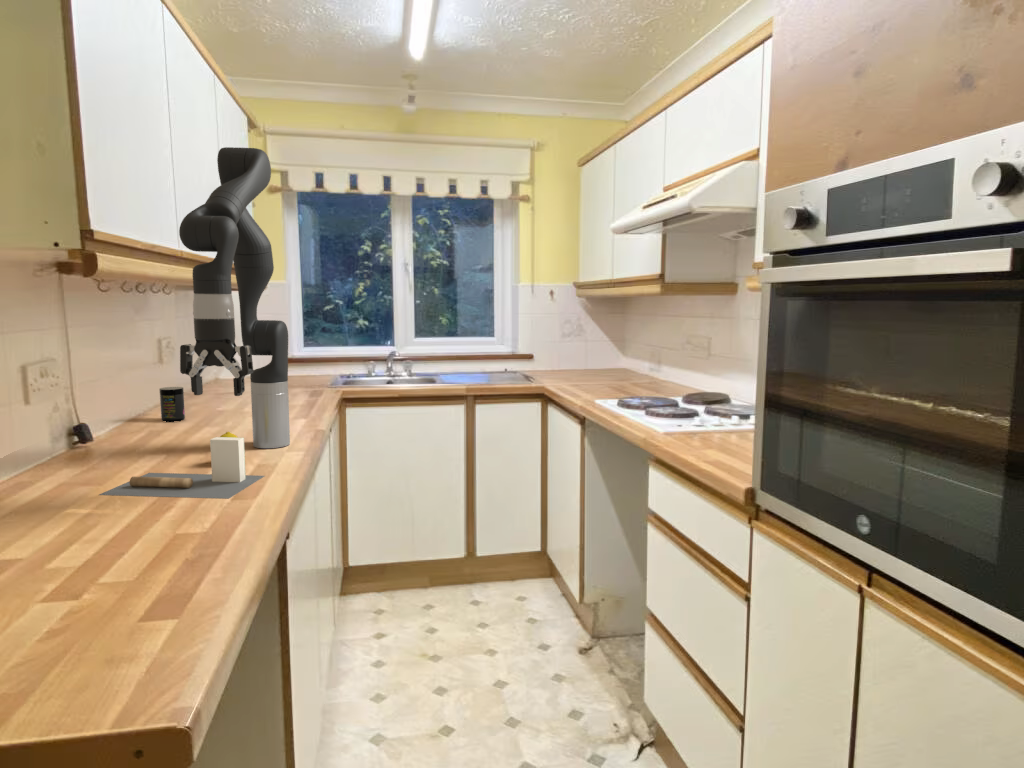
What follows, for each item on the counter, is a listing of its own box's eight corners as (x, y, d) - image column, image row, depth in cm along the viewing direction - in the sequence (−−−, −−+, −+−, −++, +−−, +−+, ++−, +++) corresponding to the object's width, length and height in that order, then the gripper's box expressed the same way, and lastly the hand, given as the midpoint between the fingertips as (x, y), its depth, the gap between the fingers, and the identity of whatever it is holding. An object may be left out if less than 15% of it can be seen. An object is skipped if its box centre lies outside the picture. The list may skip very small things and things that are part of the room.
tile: (218, 478, 135) (216, 437, 133) (245, 478, 134) (243, 437, 133) (212, 481, 132) (210, 439, 131) (240, 482, 132) (238, 440, 131)
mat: (149, 475, 138) (149, 472, 138) (265, 478, 137) (265, 475, 137) (98, 497, 122) (98, 494, 122) (228, 501, 121) (228, 498, 121)
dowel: (136, 484, 129) (135, 475, 129) (193, 486, 128) (192, 476, 128) (129, 487, 127) (129, 478, 127) (187, 489, 127) (187, 479, 126)
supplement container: (186, 421, 199) (184, 388, 197) (161, 423, 195) (159, 390, 194) (184, 418, 205) (182, 386, 203) (161, 419, 201) (158, 387, 200)
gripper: (256, 316, 131) (260, 393, 133) (190, 315, 132) (195, 391, 134) (239, 317, 124) (243, 398, 126) (169, 316, 124) (174, 397, 127)
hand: (218, 395), depth 130 cm, fingers open, 8 cm apart
